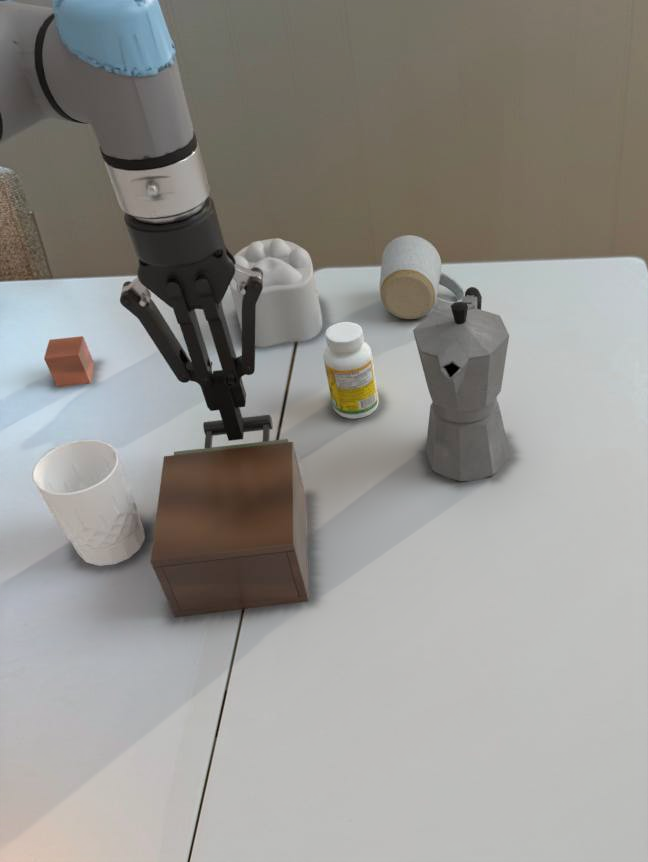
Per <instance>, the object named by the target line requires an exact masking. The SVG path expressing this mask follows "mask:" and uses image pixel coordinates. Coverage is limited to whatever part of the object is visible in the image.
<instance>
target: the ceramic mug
mask: <svg viewBox="0 0 648 862" xmlns="http://www.w3.org/2000/svg"><path fill="white" fill-rule="evenodd" d="M439 285H440V286H443V287H444V288H447V289H448V290H449V291H451V292H452V293H453V294H454V295H455V296H456V301H448V300H446V299H443V298H441V297H440V298H439V297H438V292H439ZM465 292H466V291H465V289H464V287H463V286H462V285H461V284H460V283H459V282H458V281H456V280H455V279H454V278H453V277H451V276H449V274H445V273H443V272H442V260H441V255H440V253H439V252H438V250H437V249H436V247H435V246H434V245H433V243H431V242H430V241H428V240H427V239H424V238H423V237H421V236H417V235H410V234H407V235H401V236H398V237H396V238H394V239H392V240H391V241H390V242H389V243H388V244H387V245H386V246H385V248H384V250H383V252H382V256H381V265H380V278H379V296H380V299H381V302H382V304H383V306H384V307H385V309H386V310H387V311H388V312H389V313H390V314H392V315H393V316H395V317H397V318H400V319H403V320H416V319H420V318H422V317H424V316H426V315H427V314H428V313H430V311H431V310H432V309H436V310H438V311H442V310H448V309H451V305H452V304H453V303H455V302H461V301H462V298H463V296H465Z"/></svg>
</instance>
